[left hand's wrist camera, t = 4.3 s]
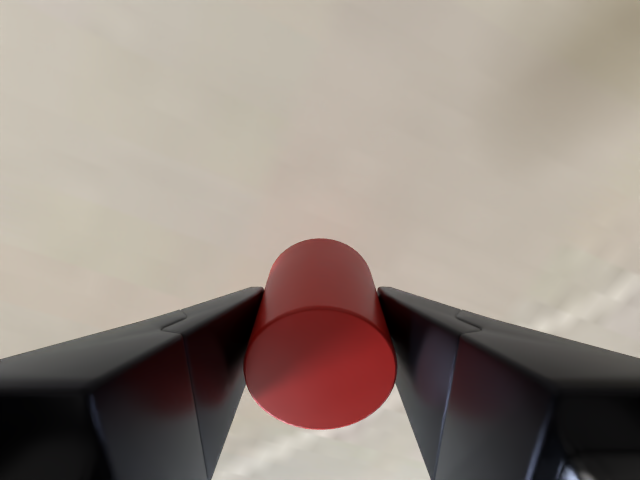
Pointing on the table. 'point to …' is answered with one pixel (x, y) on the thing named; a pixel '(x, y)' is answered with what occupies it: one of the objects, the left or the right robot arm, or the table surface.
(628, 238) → the table surface
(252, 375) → the red cylinder
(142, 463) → the left robot arm
